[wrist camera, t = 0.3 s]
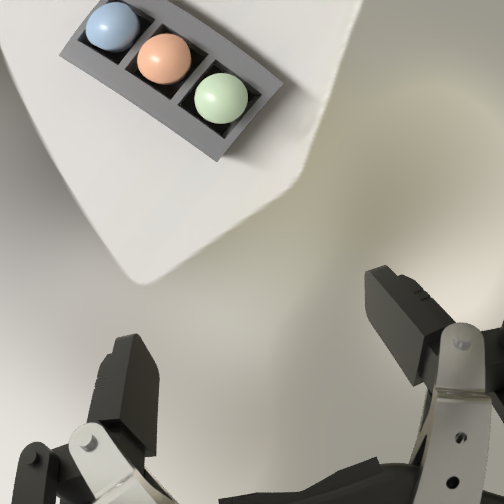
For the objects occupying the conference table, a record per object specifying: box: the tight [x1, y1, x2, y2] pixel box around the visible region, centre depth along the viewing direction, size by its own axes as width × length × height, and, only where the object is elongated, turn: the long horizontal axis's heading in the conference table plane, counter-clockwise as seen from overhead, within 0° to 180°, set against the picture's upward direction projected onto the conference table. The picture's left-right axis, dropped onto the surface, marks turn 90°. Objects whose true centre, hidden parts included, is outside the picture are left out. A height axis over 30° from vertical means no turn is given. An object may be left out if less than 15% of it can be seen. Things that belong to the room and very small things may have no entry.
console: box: [59, 0, 283, 162], centre depth 26 cm, size 20×10×4 cm, turn 50°
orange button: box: [137, 34, 191, 85], centre depth 24 cm, size 5×5×4 cm
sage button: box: [195, 73, 248, 124], centre depth 27 cm, size 5×5×4 cm
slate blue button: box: [86, 2, 141, 53], centre depth 22 cm, size 5×5×4 cm
